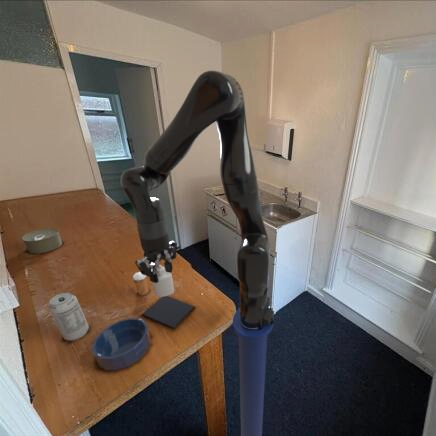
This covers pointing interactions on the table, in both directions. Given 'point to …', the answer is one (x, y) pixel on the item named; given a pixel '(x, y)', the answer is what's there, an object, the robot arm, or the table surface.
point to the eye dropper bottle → (163, 283)
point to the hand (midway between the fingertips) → (162, 276)
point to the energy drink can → (68, 316)
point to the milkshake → (141, 283)
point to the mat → (168, 311)
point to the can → (42, 240)
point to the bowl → (121, 344)
